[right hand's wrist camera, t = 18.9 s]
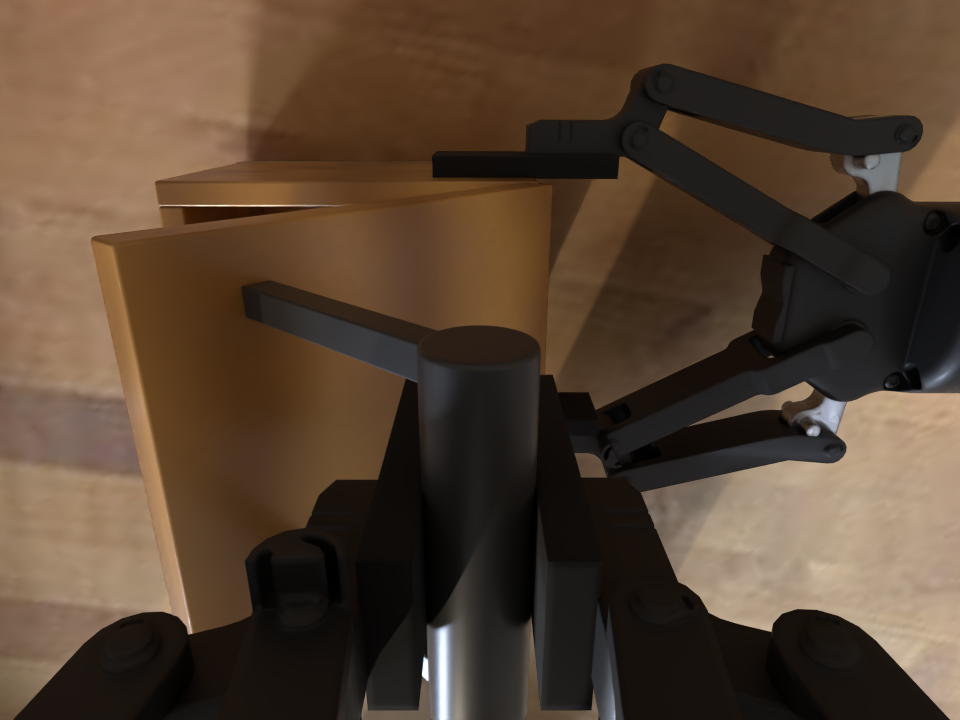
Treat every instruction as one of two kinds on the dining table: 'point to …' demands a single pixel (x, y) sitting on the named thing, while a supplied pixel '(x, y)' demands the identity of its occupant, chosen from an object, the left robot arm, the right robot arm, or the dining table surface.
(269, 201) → the chest
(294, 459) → the lid
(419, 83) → the dining table surface
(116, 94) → the dining table surface
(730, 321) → the dining table surface
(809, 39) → the dining table surface
